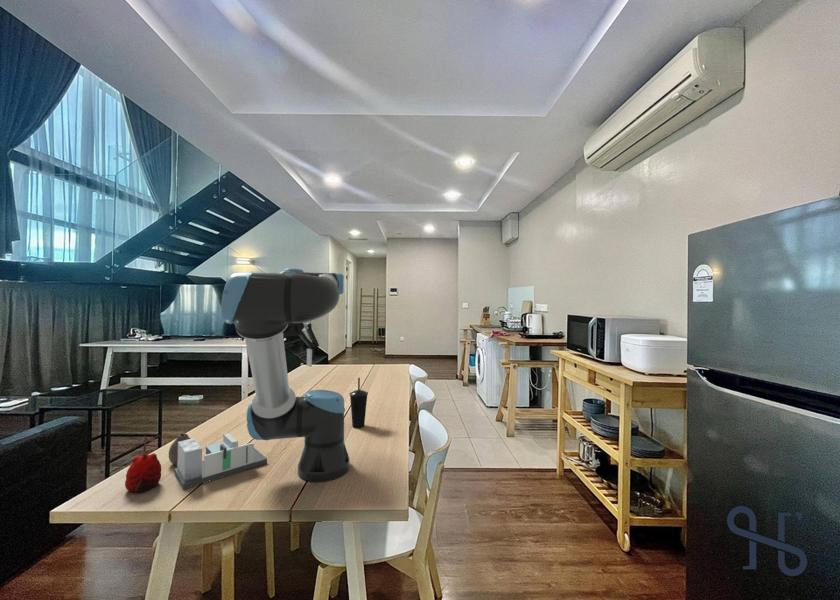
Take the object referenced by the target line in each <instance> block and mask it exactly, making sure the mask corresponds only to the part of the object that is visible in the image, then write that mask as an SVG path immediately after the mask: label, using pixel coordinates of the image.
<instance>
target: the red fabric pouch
mask: <svg viewBox="0 0 840 600" xmlns="http://www.w3.org/2000/svg"><path fill="white" fill-rule="evenodd" d="M142 439H143V447H142V451H143V452H142V455H136V456H135V457H134V458H133V459H132V463H131V464H130V465H129V468H128V469H127V470H126V474H125V482H124V487H125V489H126V491H128V492H130V493H135V494H136V493H142V492H146V491H149V490H151V489H153V488H154V487H156V486H157V485H158V484H159V482H160V481H161V479H162V464H161V462H160V460H159V459H158V456H157V454H156V453H154V452H153V453H151V454H147V451H146V449H147V442H153V443H155V439H156V438H151V439H148V437H147V434H146V435H144V436H142Z"/></svg>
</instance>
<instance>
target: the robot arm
mask: <svg viewBox="0 0 840 600" xmlns="http://www.w3.org/2000/svg"><path fill="white" fill-rule="evenodd" d="M344 283H345V281H344V274H342V273H339V272H338V273H336V272H309V271H307V272H306V271H305V272H304V270H303V269H300V268H284V269H283V270H282V271H281V272H279V273H278V272H277V273H276V272H254V271H250V272H235V273H233V274H231V275H230V276H229V277H228V278H227V280H226V283H225V285H224V289H223V292H222V297H221V302H220V303H221V304H220V305H221V306H220V309H221V310H220V311H221V313H220V314H221V319H222V322H224V323H225V324H229V325H232V324H233V325H234V326H235V327H234V328H235V330H236V333H237V334H238V336H240V337H241V338H244V340H245V345H246V350H247V354H248V355H247V356H248V361H249V366H250V372H251V376H252V380H253V382H252V383H253V387H254V394H255V396H254V397H253V399H252V400H251V401H250V402H249V403H248V407H247V411H246V428H247V429H246V430H247V432H248V435H249V436H250V437H251V439H253V440H257V441H270V440H281V439H293V438H295V439H296V438H304V445H303V450H302V452H301V456H300V457H299V461H298V464H297V475H298V476H299V478H301V479H302V480H304V481H308V482H318V483H319V482H326V481H327V482H328V481H330V480H331V481H332V480H335V479H338V478H341V477H342V476H343V475H346V473H348V472H349V470H350V460H351V459H350V456H349V453H348V449H347V447H346V444H345V413H346V408H345V399H344V396H343V395H342V394H341V393H339V392H336V391H334V390H330V389H329V390H328V389H312V390H308V391H306V392H305V394H304V396H297V395H296V392H295V391H294V390H293V389H292V388H290V385H289V384H290V383H289V377H288V376H289V375H288V366H287V365H288V364H287V357H286V356H287V355H286V349H285V341H284V340H285V338H287V337H297V336H298V337H299V338H300V339H301V340H302V342H304V343H305V345H306V346H307V347H308V348H306V366H307V367H312V366H313V358H314V356H315V350H316V348H317V347H318V348H319V346H320V343H319V342H318V339H317V337H316V335H315V333H314V331H313V329H312V328H313V327H312V323H309V322H312V321H316V320H317V319H320V318H322V317H325V316H326V315H327V314H329V313H331V312H332V311H333V310H334V309H335V308H336V306H337V305H338V303H339V301H340V300H339V299H340V295H343V293H344ZM303 330H305V331H306V333H307V335H306V333H305V332H304V331H303Z"/></svg>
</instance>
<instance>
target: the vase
mask: <svg viewBox="0 0 840 600" xmlns="http://www.w3.org/2000/svg"><path fill="white" fill-rule="evenodd" d="M188 439H192V438H191V437H190V436H189V435H188V434H187V433H181V434H177V437H176V439H175V440H174V441H173V442H172V444H171V445H170V447H169V449H168V459H169V462H170V463H171V464H172V465H174V466H177V463H178V442H179V441H184V440H188Z"/></svg>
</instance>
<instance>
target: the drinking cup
mask: <svg viewBox="0 0 840 600" xmlns="http://www.w3.org/2000/svg"><path fill="white" fill-rule="evenodd" d="M357 379H358V381H357V389H356V390H353V391H351V392H349V393H348V394H349V398H350V399H349V400H350V410H351V423H352V424H351V426H352V428H353V427H354V429H362V428H364V427H365V424H366V423H365V420H366V411H367V402H368V395H369V392H367V391H365V390H363V389H361V388H360V387H361V385H360V384H361V378H360V377H358V378H357ZM361 427H362V428H361Z"/></svg>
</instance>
